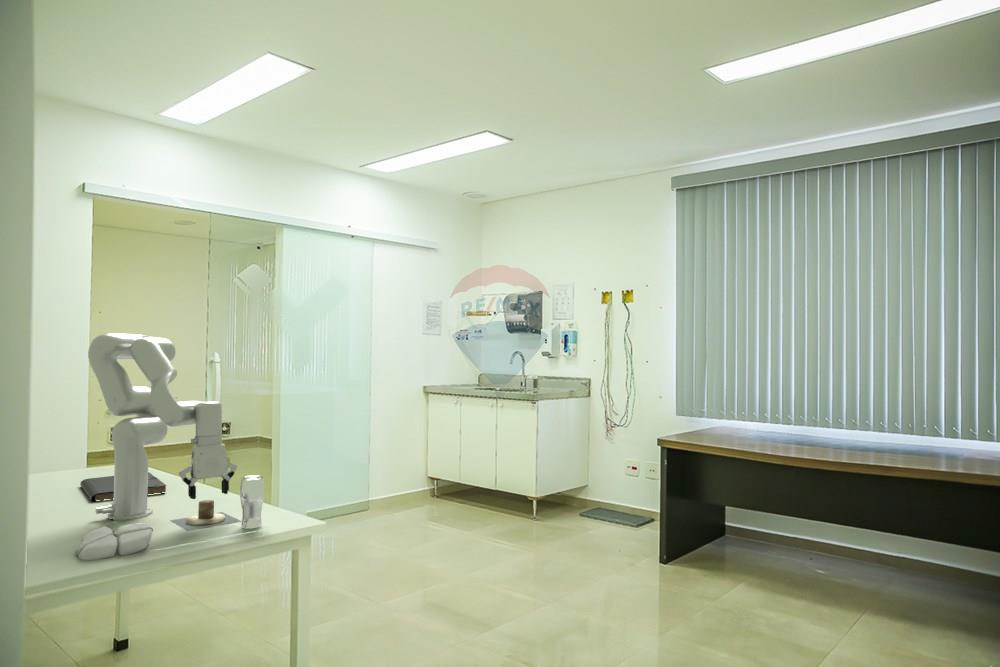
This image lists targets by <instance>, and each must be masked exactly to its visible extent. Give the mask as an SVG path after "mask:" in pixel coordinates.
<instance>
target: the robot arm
mask: <svg viewBox="0 0 1000 667" xmlns="http://www.w3.org/2000/svg"><path fill="white" fill-rule="evenodd" d="M87 352H88V353H87V354H88V355H87V357H88V362H89V364H90V367H91V369H92V371H93V373H94V375H95V377H96V379H97V382H98V386H99V387H100V390H101V394H102V396H103V398H104V402H105V404H106V408H107V409H108V411H109V413H110V414H112V416H115V417H125V416H134V417H128V418H124V419H121V420H120V421H118V422H117V423H116V424H115V425H114V426H113V428H112V430H111V441H112V445H113V449H114V450H113V452H114V453H113V454H114V474H113V476H114V500H113V502H110V504H108V505H107V506H100V507H99V506H98V507H96V508H95V513H96V514H95V515H99V514H103V515H104V514H105V515H106V514H107V515H106V516H107V517H108V518H109V519H108V518H107V519H108V520H110V519H113V520H112V521H125V520H126V521H128V520H127V519H129V520H136V519H141V518H146V517H148V516H151V515H152V514H153V509H151V508H149V507H148V496H147V495H148V472H149V456H148V453H147V451H146V449H145V446H148V445H153V444H157V443H160V442H163V440H165V438H166V436H167V434H168V426H169V427H182V426H190V425H195V436H194V437H193V438H191V439H190V443H191V444H194V445H193V448H192V451H191V452H192V453H191V458H190V459H191V460H190V465H189V466H188V467H186V468H184V469H183V470H181V471H179V473H178V474H179V477H180V478H181V480H182V482H184V484H186V485H187V486H188V488H187V491H188V495H187V496H188V497H189V499H192V500H196V499H197V486H196V485H195V484H196V483H197V482H198V480H205V479H206V480H207V479H214V478H219V477H220V478H222V480H221V493H222V494H224V495H227V494H228V492H229V491H230V480H231V479H232V478H233V476H234V475H235V473H236V471H237V469H238V465H236V464H234V463H231V462H228V454H227V450H226V444H225V443H223V439H222V438H223V433H222V432H223V427H222V425H223V423H222V422H223V421H222V420H223V418H222V417H223V416H222V415H223V414H222V413H223V412H222V410H223V409H222V408H223V407H222V406H223V405H222V404H221V402H220V401H216V400H215V401H212V400H211V401H208V400H207V401H200V400H185V401H177V400H176V399H175V398H174V397H173V396H172V394H171V392H170V389H169V384H171V383H172V382H174V380H175V379H176V378H177V376H178V371H177V369H176V368H175V366H174V365H173V363H172V362H171V361H172V360H173V359H174V358H175V356H176V352H177V350H176V347H175V345H174V344H173V342H172V341H171V340H169V339H168V338H164V337H157V336H151V335H150V336H149V335H145V334H139V333H138V334H135V333H120V332H119V333H118V332H108V333H102V334H99V335H97V336H96V337H95V338H94V339H92V341H91V342H90V345H89V347H88V351H87ZM117 360H134V362H135V363H136V365H137V366H138V368H139V369H140V371H141V372H142V374H143V375H144V377H145V378H146V379H147V381H148V382H149V384H150V387H147V386H143V385H140V386H139V385H137V386H135V385H133V384H132V382H131V379H130V377H129V374H128V372H127V371H126V369H125V368H124V367H123V366H122V365H121V364H120V363H119V362H118V361H117ZM229 468H230V470H229ZM188 473H190V478H188V477H187V474H188Z"/></svg>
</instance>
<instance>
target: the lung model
mask: <svg viewBox="0 0 1000 667" xmlns="http://www.w3.org/2000/svg"><path fill="white" fill-rule="evenodd" d="M153 532H154V528H152V527H151V525H148V524H147V523H142V522H141V523H140V522H136V523H133V522H132V523H129V524H126V525H122V526H119V527H118V528H117V531H114V530H112V529H111V528H110V527H108V526H106V525H105V526H102V527H99V528H95V529H92V530H90V531H89V532H87V533H85V535H84V537H83V539H81V543H80V545H79V548H78V550H77V553H76V555H75V556H76V557H77V556H78V558H79V559H80V560H81V559H82V560H81V561H95V560H102V559H107V557H108V558H113V557H112V556H114V555H116V552H118V555H119V554H120V556H124V555H123V554H126V555H130V554H129V553H131V554H134V553H138V552H140V551H142V550H144V549H146V548H147V547H148V546H149V544H150V543H151V540H152V535H153Z"/></svg>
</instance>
